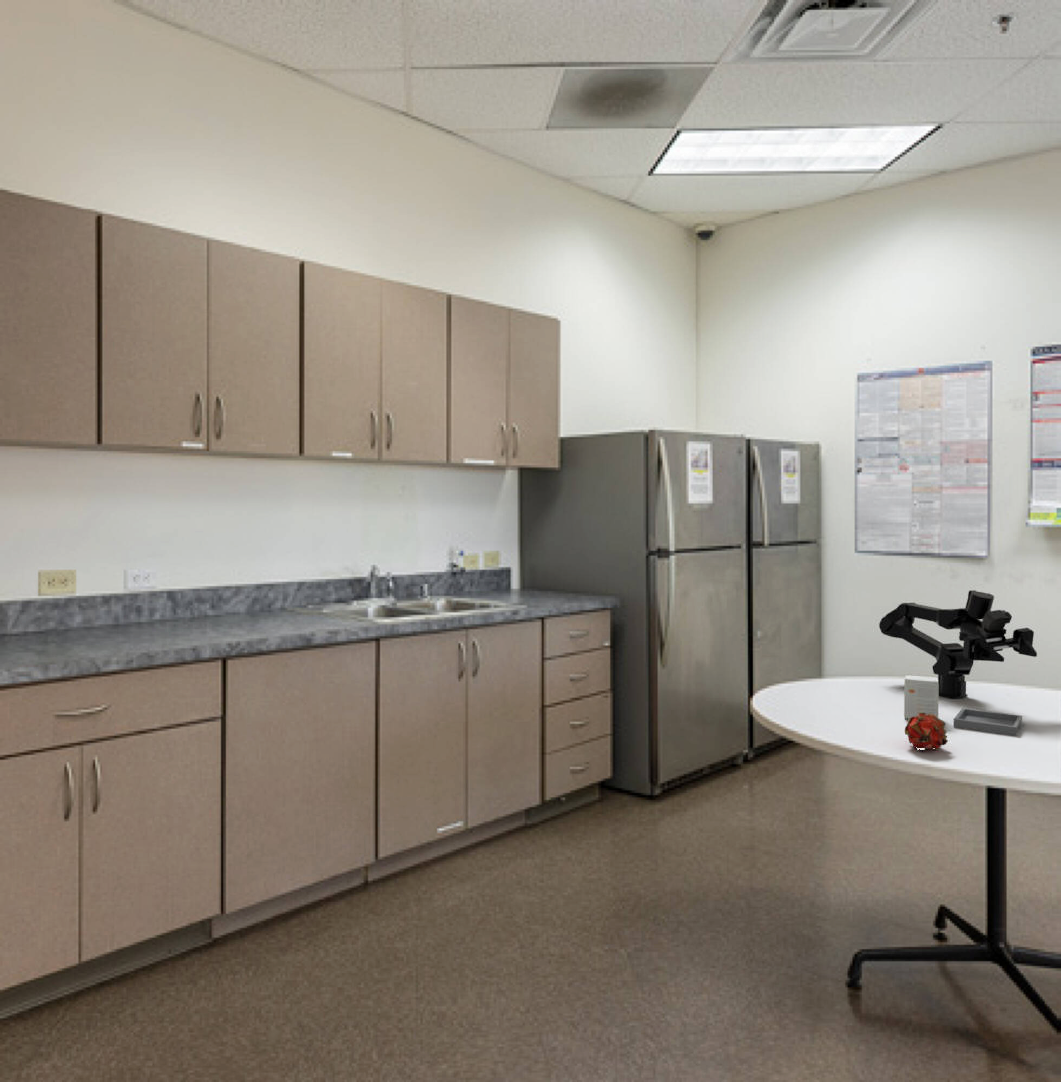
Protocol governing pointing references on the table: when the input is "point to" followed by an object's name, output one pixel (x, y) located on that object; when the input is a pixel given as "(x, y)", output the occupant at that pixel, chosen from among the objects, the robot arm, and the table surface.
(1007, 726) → the tray
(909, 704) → the small box
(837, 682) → the table surface
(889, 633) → the robot arm
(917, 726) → the dragon fruit
